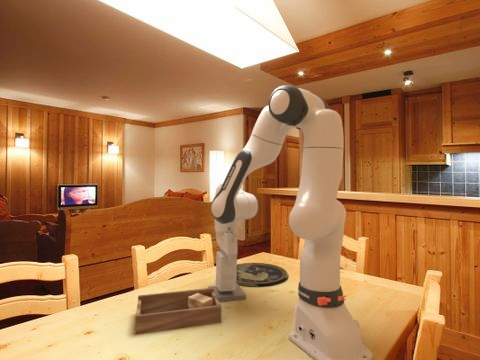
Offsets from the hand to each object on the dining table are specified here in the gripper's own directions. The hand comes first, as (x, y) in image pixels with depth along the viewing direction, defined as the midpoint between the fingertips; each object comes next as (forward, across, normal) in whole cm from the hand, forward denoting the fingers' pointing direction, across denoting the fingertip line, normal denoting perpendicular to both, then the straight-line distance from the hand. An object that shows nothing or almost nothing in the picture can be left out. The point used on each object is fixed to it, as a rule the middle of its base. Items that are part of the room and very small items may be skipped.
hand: (226, 261), depth 111 cm
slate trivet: (+12, 0, 0) cm, 13 cm away
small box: (+10, 0, 0) cm, 10 cm away
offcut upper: (+10, -14, +12) cm, 21 cm away
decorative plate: (+13, +18, -18) cm, 29 cm away
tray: (+12, -14, +19) cm, 27 cm away
